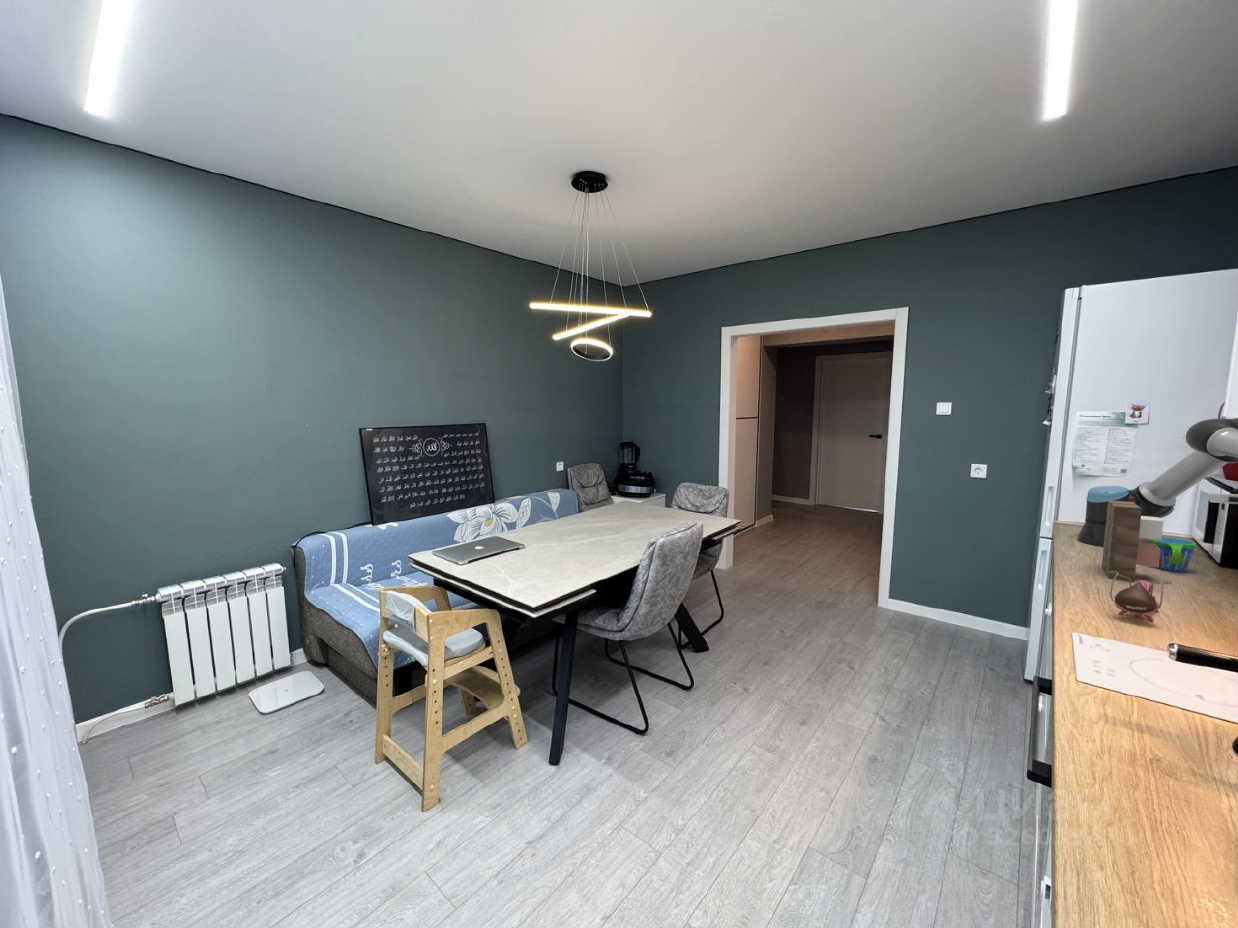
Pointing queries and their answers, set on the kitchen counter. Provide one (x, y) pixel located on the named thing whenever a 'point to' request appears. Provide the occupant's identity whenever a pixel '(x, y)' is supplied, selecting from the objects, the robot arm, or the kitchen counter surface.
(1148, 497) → the robot arm
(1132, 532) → the key panel
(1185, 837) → the kitchen counter surface
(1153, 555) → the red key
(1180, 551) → the snack cup
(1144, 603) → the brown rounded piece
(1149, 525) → the white key
